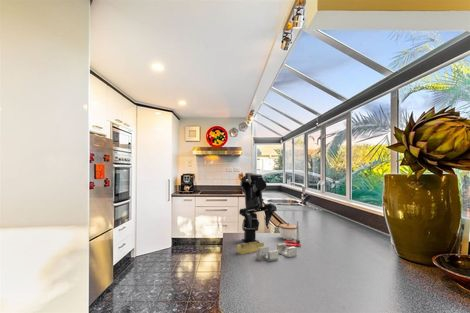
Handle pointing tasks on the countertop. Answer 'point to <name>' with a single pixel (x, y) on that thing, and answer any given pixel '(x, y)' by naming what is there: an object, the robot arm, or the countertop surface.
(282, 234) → the lidded jar
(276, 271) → the countertop surface
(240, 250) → the link
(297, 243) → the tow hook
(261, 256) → the chain ends
